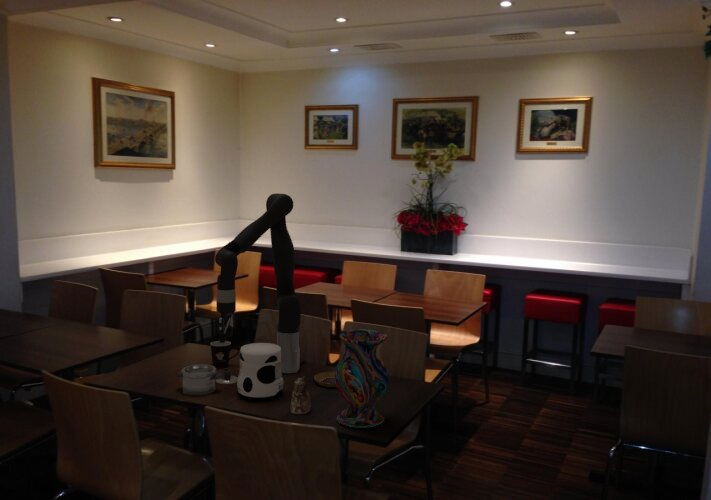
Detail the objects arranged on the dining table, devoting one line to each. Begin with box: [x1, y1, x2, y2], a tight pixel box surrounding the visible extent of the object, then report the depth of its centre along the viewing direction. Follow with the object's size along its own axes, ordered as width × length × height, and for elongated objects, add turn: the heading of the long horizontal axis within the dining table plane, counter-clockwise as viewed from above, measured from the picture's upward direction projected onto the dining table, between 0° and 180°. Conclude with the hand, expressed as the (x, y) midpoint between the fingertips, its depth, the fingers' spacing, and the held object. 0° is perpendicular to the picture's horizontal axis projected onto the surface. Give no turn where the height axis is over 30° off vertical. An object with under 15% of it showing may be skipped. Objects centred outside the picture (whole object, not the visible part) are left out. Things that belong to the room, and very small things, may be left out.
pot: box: [175, 363, 223, 397], centre depth 236 cm, size 17×12×8 cm
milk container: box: [236, 342, 284, 400], centre depth 233 cm, size 17×17×18 cm
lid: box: [215, 368, 238, 385], centre depth 249 cm, size 9×9×4 cm
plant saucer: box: [313, 371, 337, 388], centre depth 250 cm, size 15×15×3 cm
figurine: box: [290, 375, 312, 415], centre depth 219 cm, size 7×7×12 cm
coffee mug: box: [210, 340, 241, 369], centre depth 266 cm, size 12×9×10 cm
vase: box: [335, 328, 390, 429], centre depth 211 cm, size 18×18×30 cm
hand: (225, 339), depth 248 cm, fingers open, 8 cm apart
